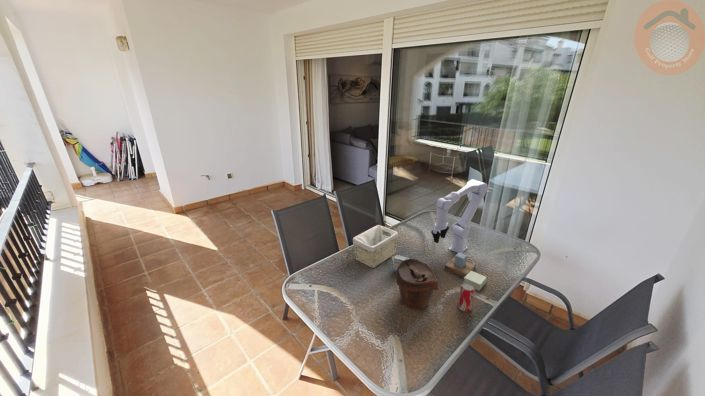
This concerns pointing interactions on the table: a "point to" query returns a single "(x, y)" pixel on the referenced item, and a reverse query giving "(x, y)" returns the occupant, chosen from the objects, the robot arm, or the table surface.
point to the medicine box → (398, 261)
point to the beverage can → (466, 297)
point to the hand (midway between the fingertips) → (439, 240)
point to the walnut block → (458, 270)
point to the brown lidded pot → (415, 283)
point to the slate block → (460, 260)
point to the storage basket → (375, 245)
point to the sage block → (475, 280)
